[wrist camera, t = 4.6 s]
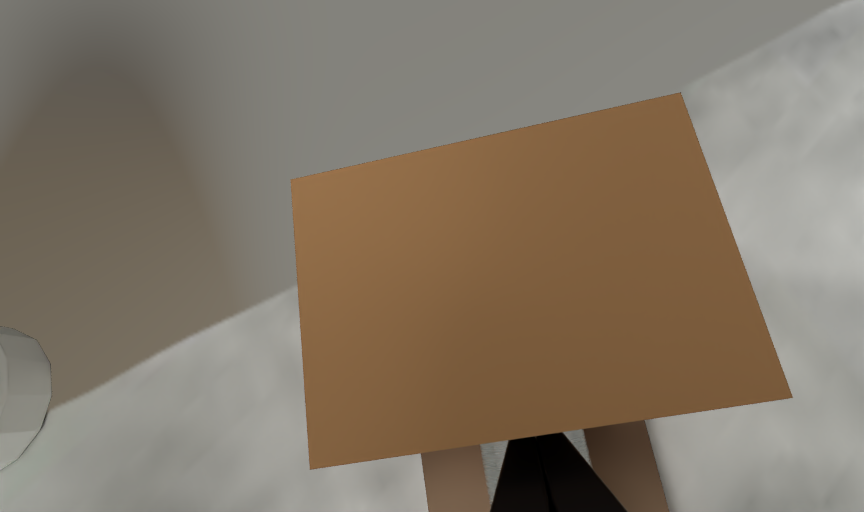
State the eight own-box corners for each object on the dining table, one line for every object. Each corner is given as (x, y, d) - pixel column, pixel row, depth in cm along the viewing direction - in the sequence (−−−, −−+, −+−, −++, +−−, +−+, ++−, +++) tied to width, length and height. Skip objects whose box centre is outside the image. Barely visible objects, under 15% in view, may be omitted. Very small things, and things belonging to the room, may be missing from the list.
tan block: (626, 397, 16) (792, 398, 7) (428, 427, 17) (309, 469, 7) (590, 260, 18) (680, 92, 8) (409, 294, 19) (290, 180, 9)
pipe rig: (718, 720, 15) (849, 931, 9) (465, 740, 16) (435, 943, 10) (577, 197, 20) (603, 116, 14) (396, 234, 21) (350, 172, 15)
